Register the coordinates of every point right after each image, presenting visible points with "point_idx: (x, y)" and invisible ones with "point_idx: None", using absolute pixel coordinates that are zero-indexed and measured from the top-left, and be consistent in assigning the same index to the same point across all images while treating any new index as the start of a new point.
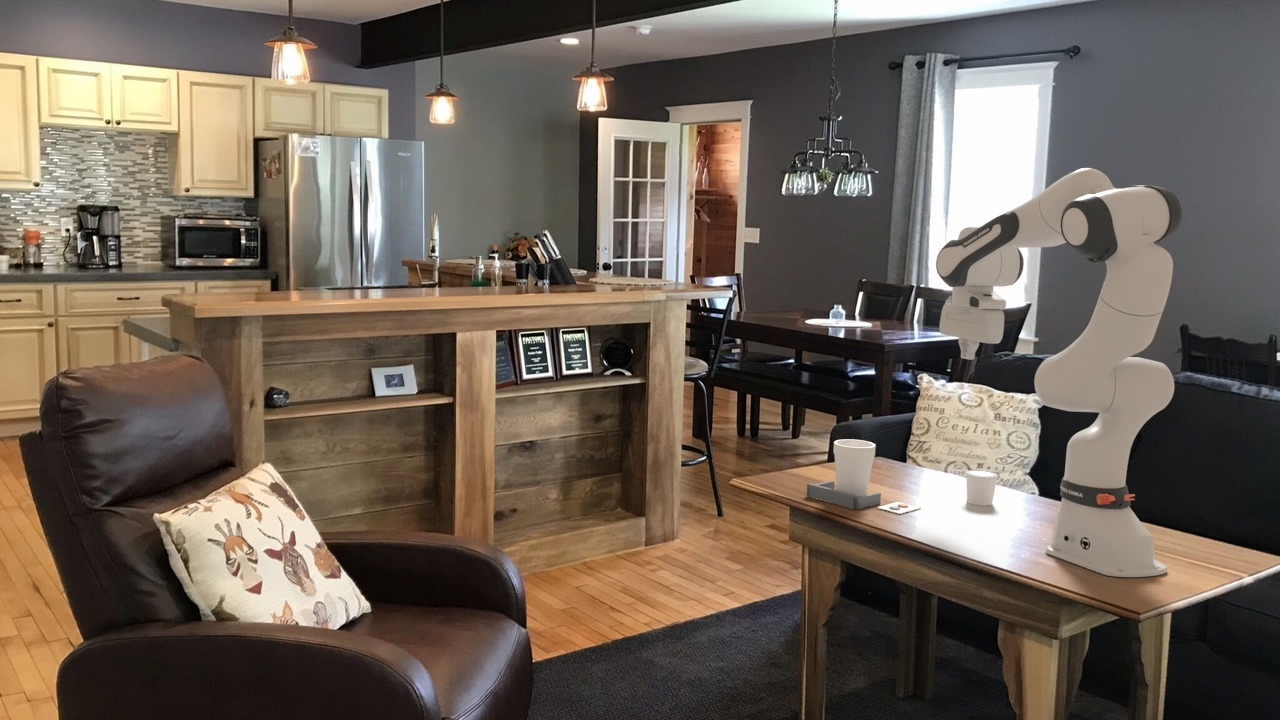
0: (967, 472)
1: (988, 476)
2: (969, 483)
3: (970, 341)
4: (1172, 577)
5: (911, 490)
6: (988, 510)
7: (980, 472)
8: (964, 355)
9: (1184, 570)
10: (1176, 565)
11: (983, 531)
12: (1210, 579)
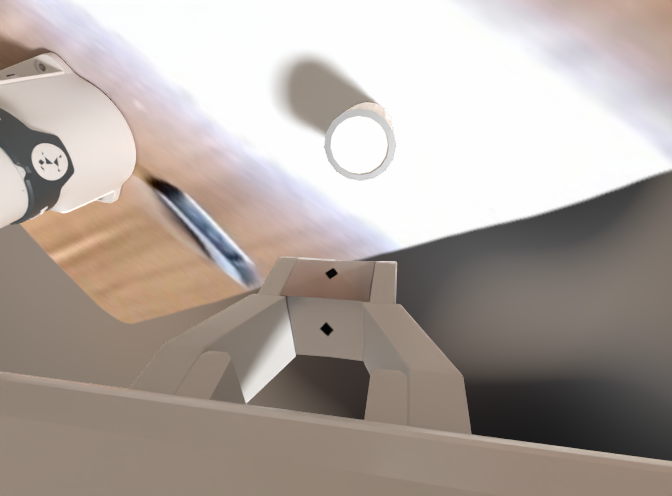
0: (371, 113)
1: (328, 144)
2: (358, 106)
3: (153, 383)
4: None
5: (505, 7)
6: (309, 112)
7: (369, 149)
8: (337, 272)
9: None
10: None
11: (164, 5)
12: None
